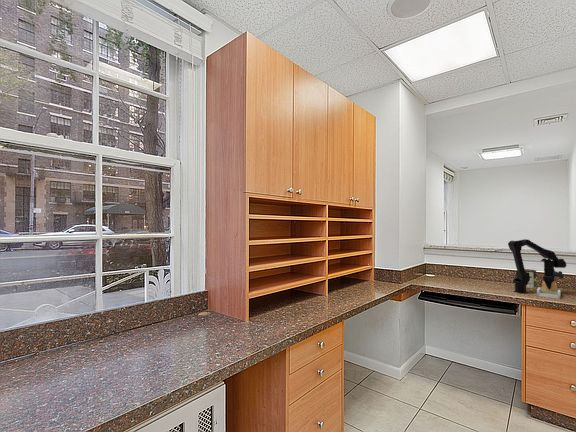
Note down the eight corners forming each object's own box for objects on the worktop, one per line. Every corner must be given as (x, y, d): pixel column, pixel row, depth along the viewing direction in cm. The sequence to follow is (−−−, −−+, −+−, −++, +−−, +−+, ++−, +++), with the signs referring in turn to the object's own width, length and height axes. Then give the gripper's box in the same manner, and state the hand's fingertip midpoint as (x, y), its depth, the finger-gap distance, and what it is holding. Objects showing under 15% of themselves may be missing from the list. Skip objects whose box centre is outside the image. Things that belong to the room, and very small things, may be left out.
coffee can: (530, 285, 258) (529, 269, 259) (539, 288, 248) (539, 270, 248) (517, 285, 258) (517, 269, 259) (527, 288, 248) (526, 270, 248)
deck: (560, 298, 212) (559, 292, 212) (537, 295, 220) (536, 289, 220) (561, 292, 232) (560, 286, 233) (540, 289, 241) (539, 284, 241)
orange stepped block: (556, 291, 225) (556, 282, 225) (542, 289, 230) (542, 281, 230) (556, 289, 229) (556, 281, 229) (542, 288, 235) (542, 280, 235)
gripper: (563, 269, 218) (563, 291, 217) (563, 267, 232) (564, 288, 231) (542, 268, 226) (543, 289, 225) (544, 266, 239) (544, 286, 239)
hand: (549, 288), depth 230 cm, fingers closed on orange stepped block, 6 cm apart
